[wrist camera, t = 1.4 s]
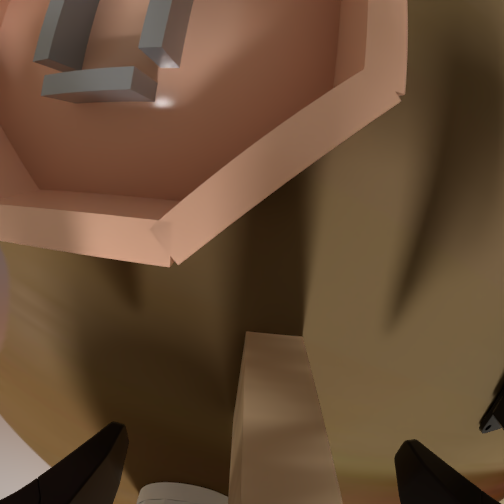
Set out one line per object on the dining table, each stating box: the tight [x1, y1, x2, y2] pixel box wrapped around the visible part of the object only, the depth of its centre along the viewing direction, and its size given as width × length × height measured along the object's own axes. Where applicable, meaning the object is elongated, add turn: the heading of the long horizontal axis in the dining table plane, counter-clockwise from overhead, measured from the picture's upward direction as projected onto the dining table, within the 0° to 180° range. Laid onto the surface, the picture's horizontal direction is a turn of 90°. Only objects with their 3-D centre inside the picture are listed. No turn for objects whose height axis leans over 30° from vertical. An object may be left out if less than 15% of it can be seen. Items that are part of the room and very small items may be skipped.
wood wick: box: [228, 331, 343, 504], centre depth 7 cm, size 2×4×9 cm, turn 173°
